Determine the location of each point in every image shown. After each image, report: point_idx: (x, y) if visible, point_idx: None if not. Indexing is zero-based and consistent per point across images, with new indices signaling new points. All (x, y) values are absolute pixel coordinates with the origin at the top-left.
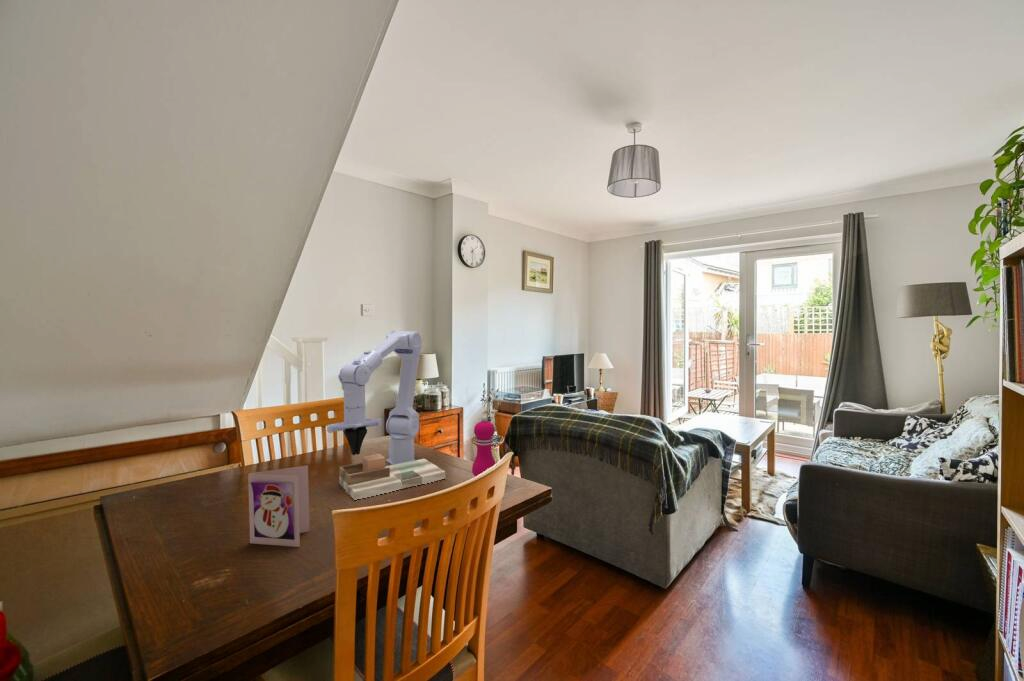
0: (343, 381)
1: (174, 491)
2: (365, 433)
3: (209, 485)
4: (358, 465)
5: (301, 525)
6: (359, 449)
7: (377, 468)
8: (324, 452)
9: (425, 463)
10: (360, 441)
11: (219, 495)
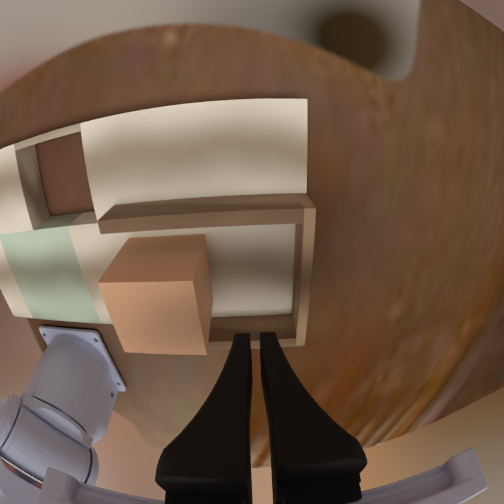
0: None
1: (499, 371)
2: (177, 447)
3: (471, 382)
4: (225, 337)
5: (480, 2)
6: (235, 353)
7: (151, 254)
8: (259, 460)
9: (4, 273)
10: (227, 397)
11: (491, 338)
